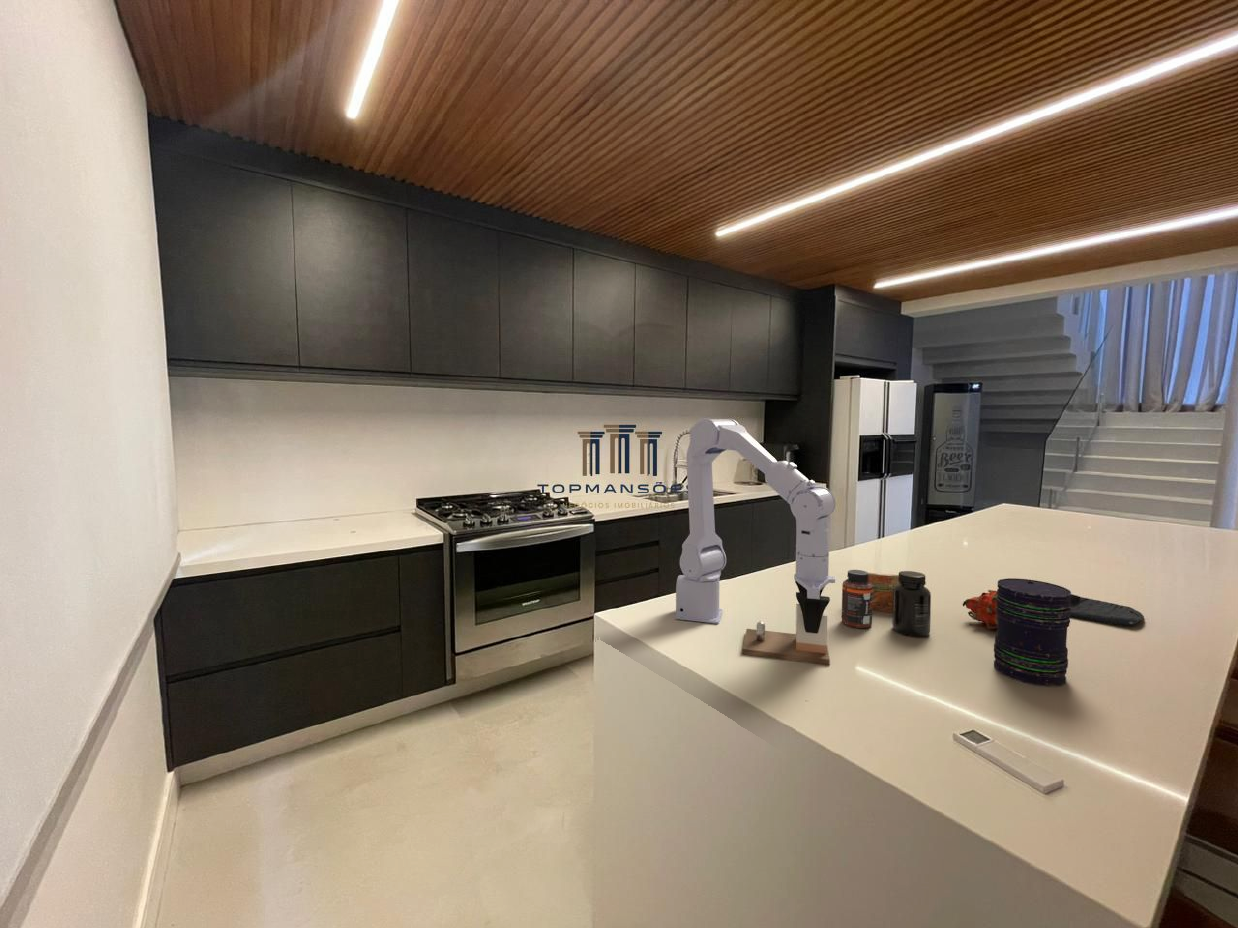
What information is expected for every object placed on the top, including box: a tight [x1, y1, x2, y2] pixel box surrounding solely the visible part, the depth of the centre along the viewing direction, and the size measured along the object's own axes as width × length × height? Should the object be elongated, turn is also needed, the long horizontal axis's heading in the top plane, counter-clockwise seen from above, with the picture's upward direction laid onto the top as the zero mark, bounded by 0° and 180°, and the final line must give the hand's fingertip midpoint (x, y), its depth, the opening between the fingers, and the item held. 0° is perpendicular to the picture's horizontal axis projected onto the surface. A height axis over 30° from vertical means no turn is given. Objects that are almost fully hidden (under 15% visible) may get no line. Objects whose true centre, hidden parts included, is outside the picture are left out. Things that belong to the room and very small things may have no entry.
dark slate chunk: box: [1070, 593, 1145, 626], centre depth 116 cm, size 15×22×5 cm
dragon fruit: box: [962, 589, 998, 631], centre depth 106 cm, size 8×8×12 cm
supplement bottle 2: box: [891, 570, 932, 638], centre depth 105 cm, size 7×7×12 cm
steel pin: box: [756, 621, 766, 642], centre depth 99 cm, size 2×2×4 cm
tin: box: [868, 572, 899, 614], centre depth 117 cm, size 15×3×8 cm, turn 68°
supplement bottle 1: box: [841, 569, 874, 629], centre depth 109 cm, size 6×6×11 cm
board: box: [742, 628, 831, 666], centre depth 98 cm, size 15×10×1 cm, turn 72°
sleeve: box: [795, 603, 828, 654], centre depth 96 cm, size 5×5×7 cm
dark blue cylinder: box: [993, 577, 1072, 688], centre depth 87 cm, size 10×10×15 cm
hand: (810, 624), depth 96 cm, fingers open, 7 cm apart
